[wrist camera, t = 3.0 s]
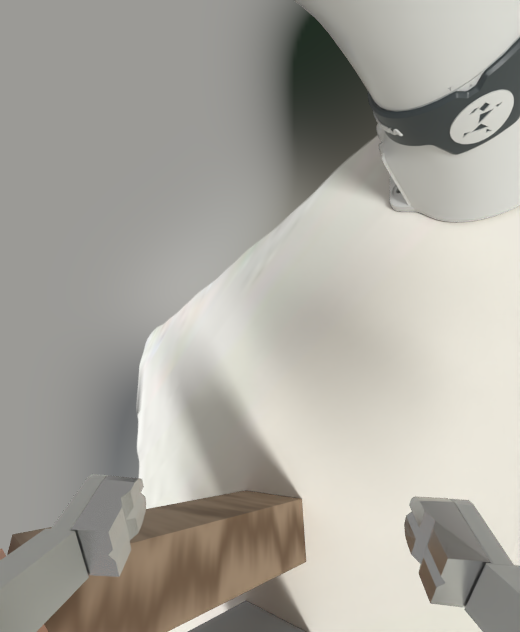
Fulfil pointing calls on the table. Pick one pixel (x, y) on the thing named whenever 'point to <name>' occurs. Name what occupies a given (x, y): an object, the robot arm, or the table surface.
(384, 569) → the table surface
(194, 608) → the pillar
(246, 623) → the blue-grey block
